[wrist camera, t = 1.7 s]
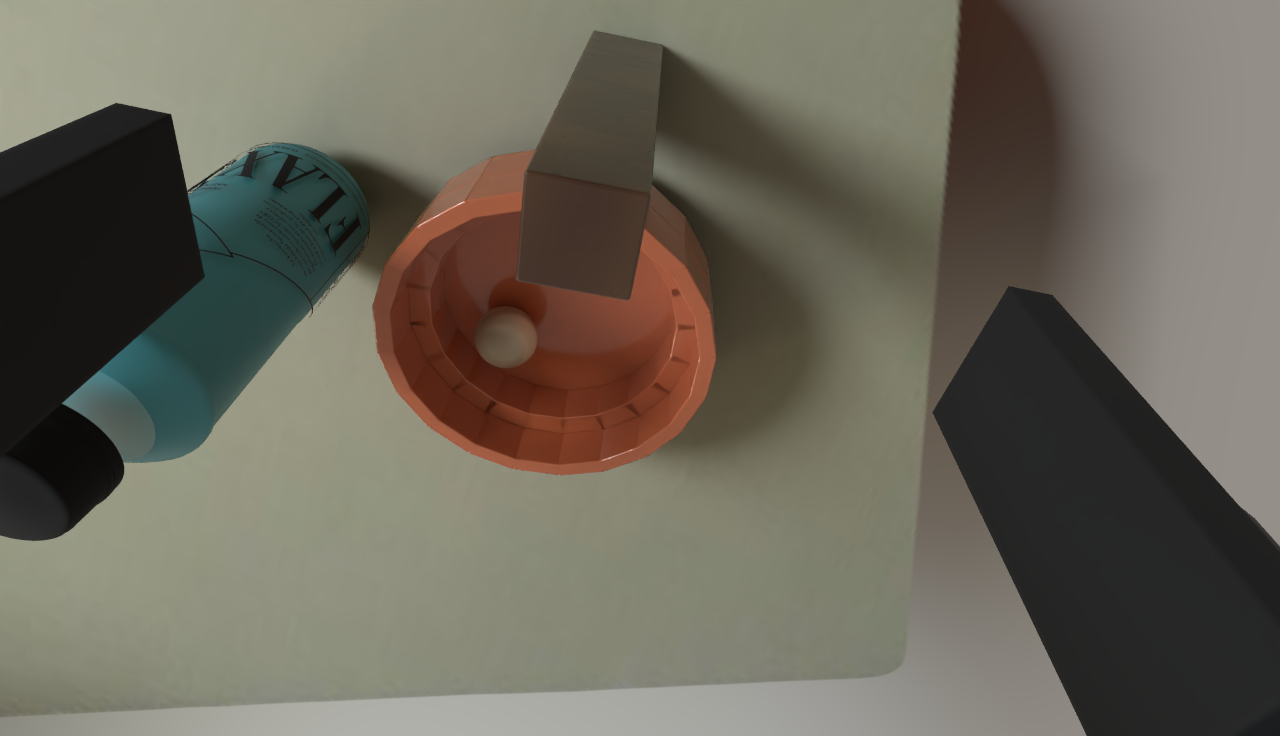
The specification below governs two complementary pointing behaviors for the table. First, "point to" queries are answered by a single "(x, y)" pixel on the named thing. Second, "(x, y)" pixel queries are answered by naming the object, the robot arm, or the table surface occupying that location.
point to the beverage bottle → (194, 336)
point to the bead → (506, 337)
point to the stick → (594, 173)
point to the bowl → (543, 335)
